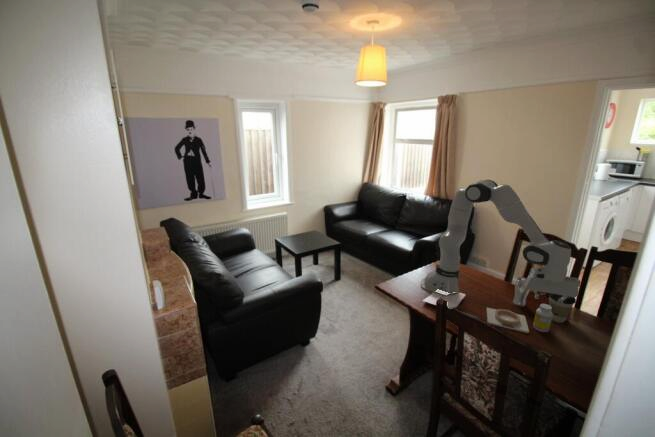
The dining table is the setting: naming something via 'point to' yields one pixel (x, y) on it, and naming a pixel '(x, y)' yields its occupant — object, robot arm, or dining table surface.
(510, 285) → the dining table surface
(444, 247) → the robot arm
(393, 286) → the dining table surface
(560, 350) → the dining table surface
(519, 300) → the beer glass
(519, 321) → the ring socket
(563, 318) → the coffee cup
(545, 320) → the supplement bottle
